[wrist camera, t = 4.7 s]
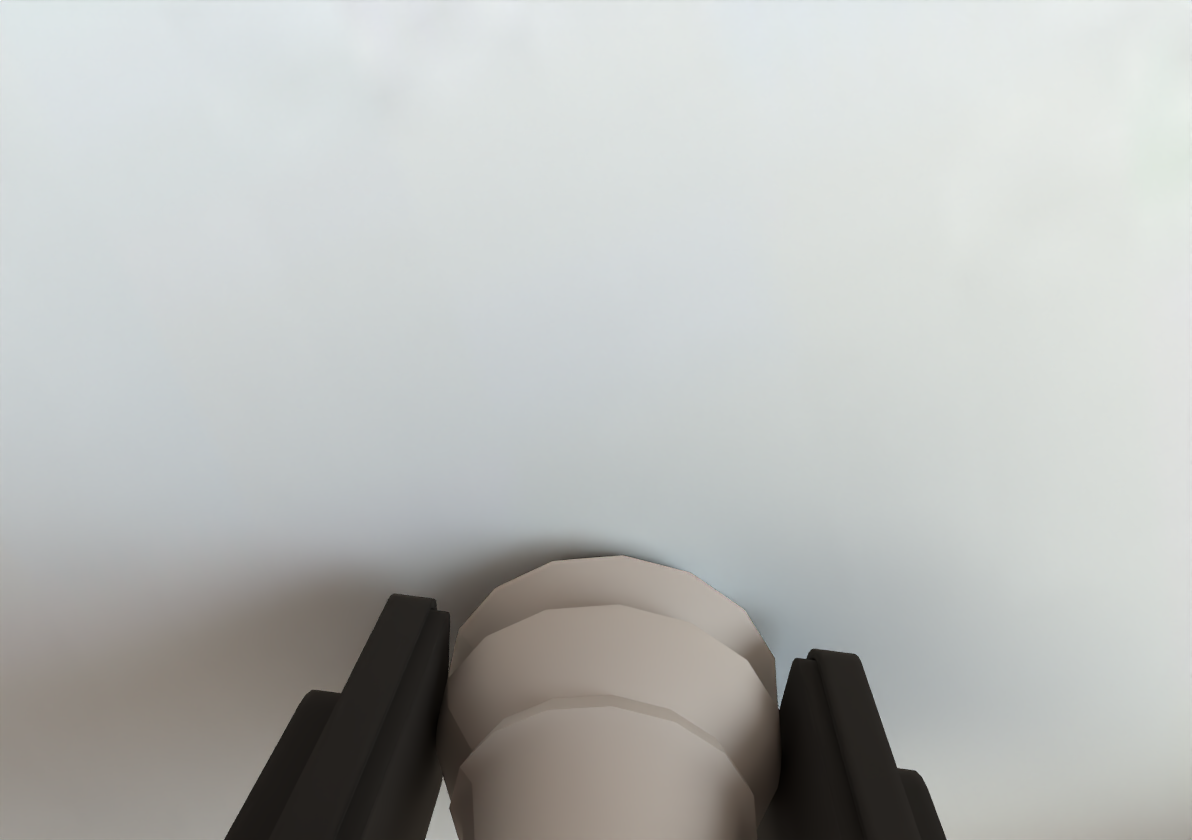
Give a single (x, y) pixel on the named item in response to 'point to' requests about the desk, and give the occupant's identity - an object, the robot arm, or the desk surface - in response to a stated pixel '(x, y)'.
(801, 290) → the desk surface
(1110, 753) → the desk surface
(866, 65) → the desk surface
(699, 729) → the rook chess piece
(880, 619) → the desk surface
